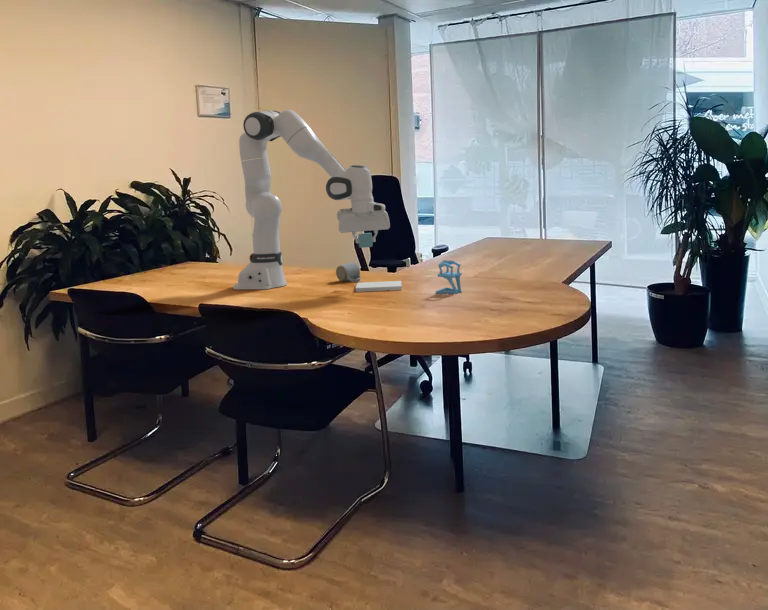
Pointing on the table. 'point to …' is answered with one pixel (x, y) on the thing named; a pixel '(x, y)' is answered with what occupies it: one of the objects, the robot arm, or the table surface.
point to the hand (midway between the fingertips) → (365, 242)
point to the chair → (450, 277)
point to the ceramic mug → (348, 272)
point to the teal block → (365, 240)
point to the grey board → (379, 286)
